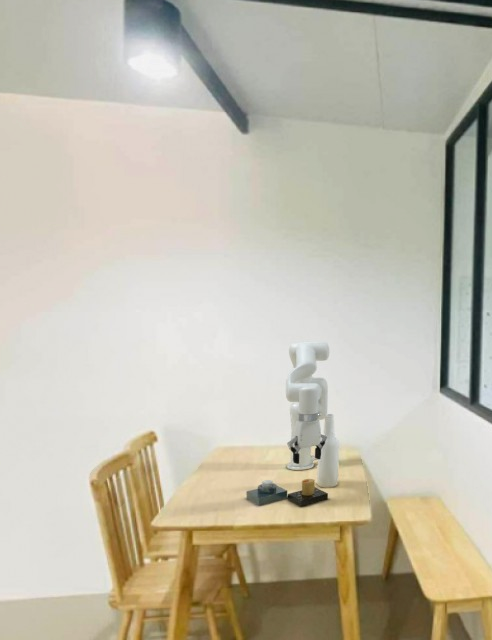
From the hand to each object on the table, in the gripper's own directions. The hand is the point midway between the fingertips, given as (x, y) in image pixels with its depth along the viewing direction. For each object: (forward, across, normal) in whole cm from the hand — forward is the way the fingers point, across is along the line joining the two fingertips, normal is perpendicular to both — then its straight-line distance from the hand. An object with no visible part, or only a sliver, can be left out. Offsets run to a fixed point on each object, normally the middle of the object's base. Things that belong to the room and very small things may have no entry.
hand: (307, 460), depth 199 cm
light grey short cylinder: (+11, +11, -11) cm, 19 cm away
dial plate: (+15, 0, +1) cm, 15 cm away
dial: (+13, 0, +1) cm, 13 cm away
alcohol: (+15, -16, -9) cm, 24 cm away
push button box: (+15, +11, -11) cm, 22 cm away
